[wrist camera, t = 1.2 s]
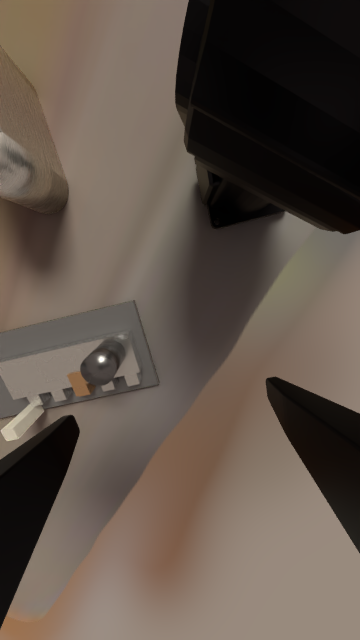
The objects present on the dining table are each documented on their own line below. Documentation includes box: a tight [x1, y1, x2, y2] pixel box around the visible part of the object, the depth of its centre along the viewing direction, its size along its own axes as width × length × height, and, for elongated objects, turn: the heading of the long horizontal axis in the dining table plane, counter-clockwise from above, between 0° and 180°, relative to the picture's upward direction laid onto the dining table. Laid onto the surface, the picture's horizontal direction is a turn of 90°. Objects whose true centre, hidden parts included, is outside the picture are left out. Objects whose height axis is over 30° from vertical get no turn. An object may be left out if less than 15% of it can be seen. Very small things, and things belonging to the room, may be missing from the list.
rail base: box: [0, 300, 159, 441], centre depth 18 cm, size 19×9×4 cm, turn 103°
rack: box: [0, 329, 142, 407], centre depth 18 cm, size 13×5×4 cm, turn 103°
